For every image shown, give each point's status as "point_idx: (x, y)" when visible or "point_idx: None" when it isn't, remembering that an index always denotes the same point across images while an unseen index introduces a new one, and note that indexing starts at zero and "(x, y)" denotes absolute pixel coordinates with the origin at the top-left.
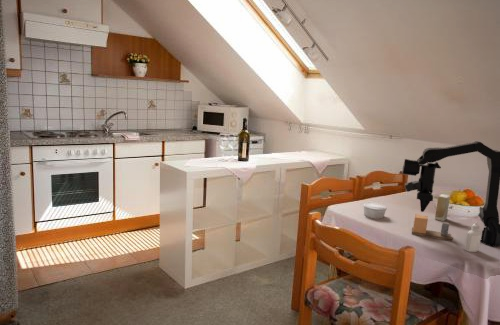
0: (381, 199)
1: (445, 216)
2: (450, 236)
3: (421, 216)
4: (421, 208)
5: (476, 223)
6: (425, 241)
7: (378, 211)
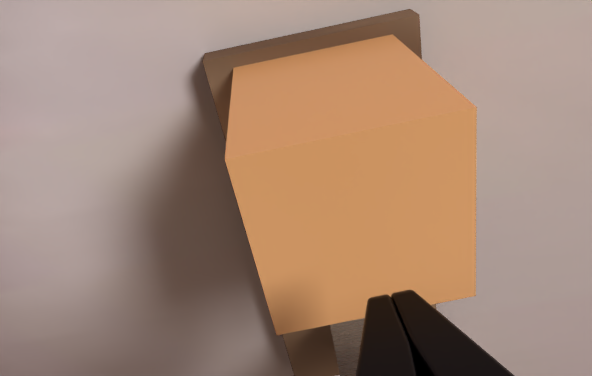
0: None
1: None
2: None
3: (379, 233)
4: (359, 369)
5: None
6: (82, 227)
7: None
